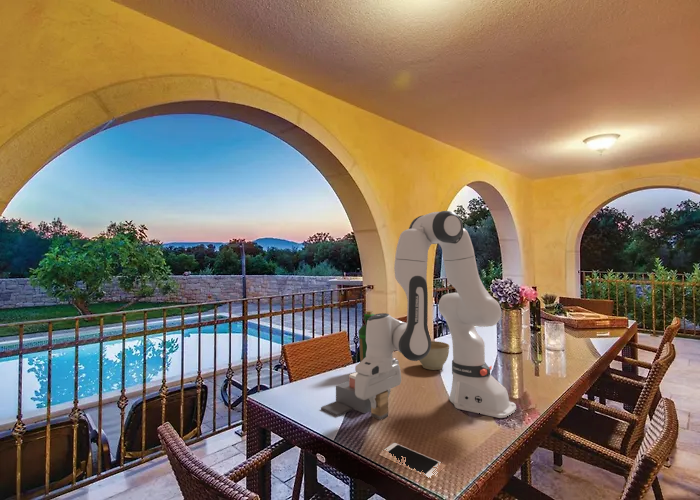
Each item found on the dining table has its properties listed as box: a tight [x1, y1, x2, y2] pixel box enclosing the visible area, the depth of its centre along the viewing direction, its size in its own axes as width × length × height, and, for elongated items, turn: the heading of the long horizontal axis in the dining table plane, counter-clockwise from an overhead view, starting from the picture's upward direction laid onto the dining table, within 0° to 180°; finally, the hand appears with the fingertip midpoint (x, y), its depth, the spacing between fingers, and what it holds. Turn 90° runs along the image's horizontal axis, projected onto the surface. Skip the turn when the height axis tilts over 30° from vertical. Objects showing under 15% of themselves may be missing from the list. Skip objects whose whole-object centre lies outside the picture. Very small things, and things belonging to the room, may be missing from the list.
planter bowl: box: [418, 340, 450, 371], centre depth 168 cm, size 16×16×11 cm
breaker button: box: [348, 371, 357, 389], centre depth 126 cm, size 5×5×5 cm
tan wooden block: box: [370, 391, 389, 421], centre depth 116 cm, size 4×4×8 cm
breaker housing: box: [335, 380, 371, 414], centre depth 126 cm, size 14×10×6 cm
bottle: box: [358, 310, 375, 363], centre depth 161 cm, size 11×11×28 cm
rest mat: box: [320, 401, 353, 417], centre depth 121 cm, size 8×7×1 cm
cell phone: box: [383, 442, 441, 479], centre depth 90 cm, size 8×16×1 cm, turn 48°
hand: (379, 405), depth 116 cm, fingers closed on tan wooden block, 4 cm apart
